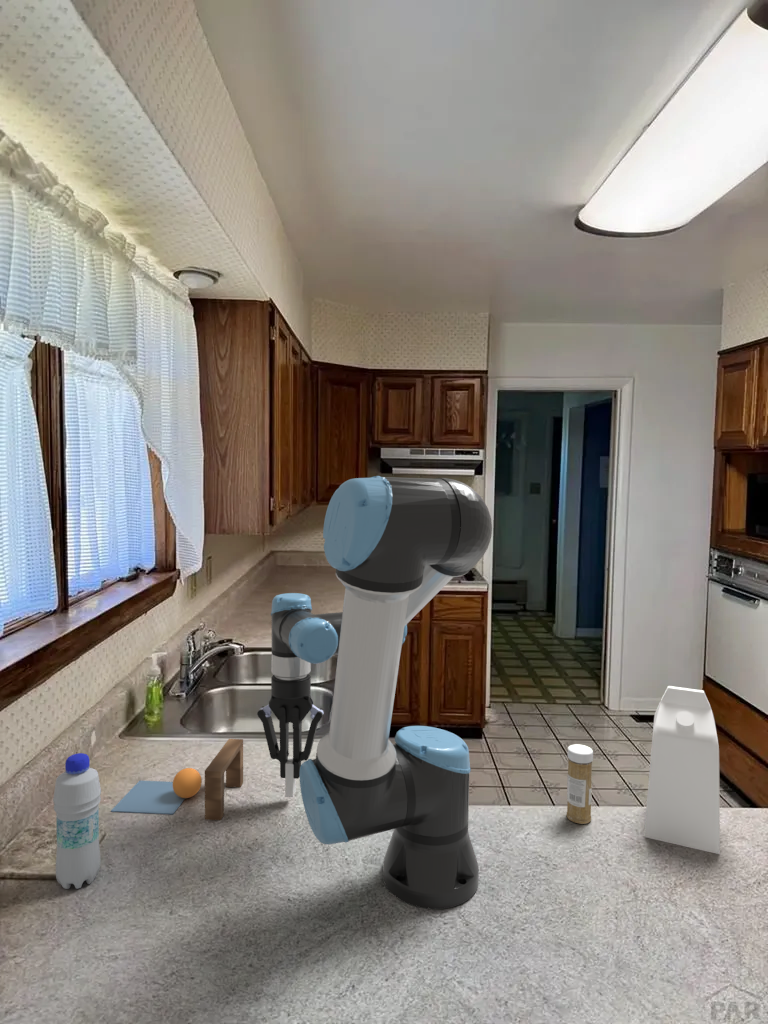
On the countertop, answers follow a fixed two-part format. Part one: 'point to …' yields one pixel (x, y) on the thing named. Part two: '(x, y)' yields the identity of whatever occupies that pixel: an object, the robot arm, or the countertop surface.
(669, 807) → the milk
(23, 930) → the countertop surface
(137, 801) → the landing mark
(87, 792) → the bottle
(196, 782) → the ball
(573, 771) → the sprinkles bottle
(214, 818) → the bridge
